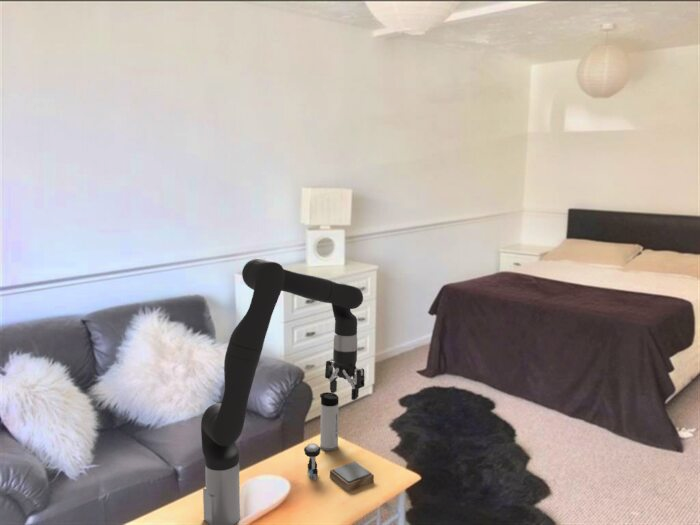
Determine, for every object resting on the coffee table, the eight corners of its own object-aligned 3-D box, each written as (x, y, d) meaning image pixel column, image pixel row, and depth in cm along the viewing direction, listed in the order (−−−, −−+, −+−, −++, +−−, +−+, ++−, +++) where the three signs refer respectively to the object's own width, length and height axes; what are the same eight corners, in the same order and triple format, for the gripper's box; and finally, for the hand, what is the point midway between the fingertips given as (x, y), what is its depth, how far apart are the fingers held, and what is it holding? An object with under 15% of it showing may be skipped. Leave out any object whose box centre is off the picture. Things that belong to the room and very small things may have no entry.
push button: (323, 480, 180) (323, 450, 178) (306, 482, 178) (307, 453, 177) (318, 469, 186) (318, 441, 184) (302, 471, 184) (302, 443, 183)
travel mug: (317, 444, 203) (318, 391, 200) (335, 441, 205) (335, 389, 202) (321, 452, 197) (322, 398, 194) (339, 450, 199) (340, 396, 196)
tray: (348, 492, 173) (348, 483, 173) (329, 477, 181) (330, 468, 181) (373, 481, 179) (373, 473, 179) (354, 468, 187) (354, 460, 187)
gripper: (320, 344, 179) (319, 393, 182) (355, 354, 171) (354, 405, 173) (335, 340, 185) (334, 386, 188) (370, 349, 176) (368, 398, 179)
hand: (343, 395), depth 180 cm, fingers open, 8 cm apart
